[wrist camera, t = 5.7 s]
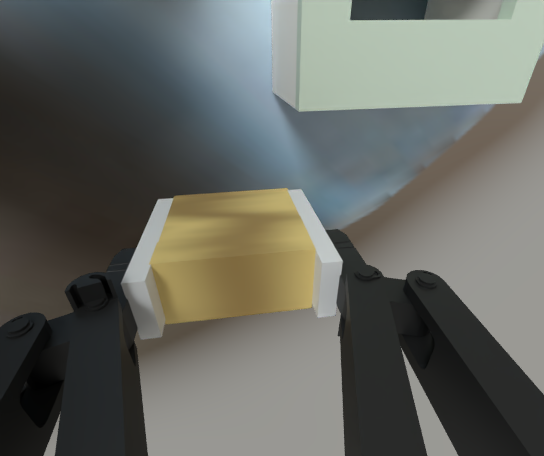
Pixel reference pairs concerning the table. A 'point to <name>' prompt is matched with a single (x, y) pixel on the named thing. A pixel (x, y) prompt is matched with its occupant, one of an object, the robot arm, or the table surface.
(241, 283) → the cardboard box
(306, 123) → the table surface
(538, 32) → the coin box
